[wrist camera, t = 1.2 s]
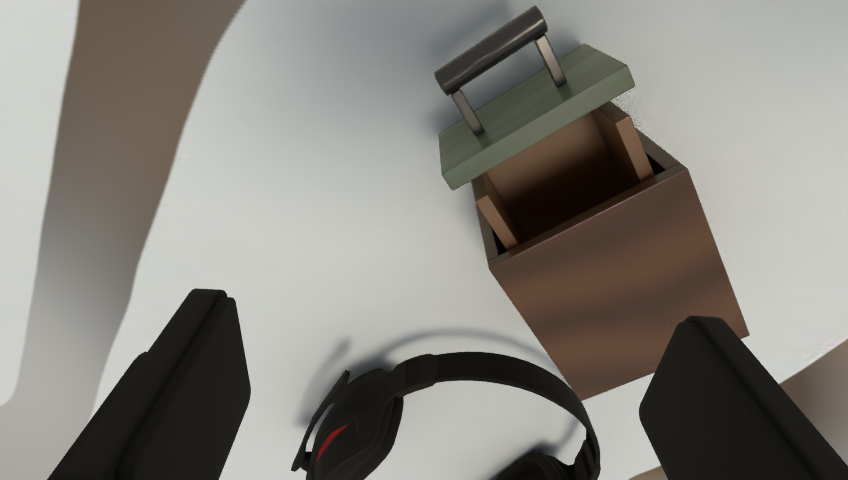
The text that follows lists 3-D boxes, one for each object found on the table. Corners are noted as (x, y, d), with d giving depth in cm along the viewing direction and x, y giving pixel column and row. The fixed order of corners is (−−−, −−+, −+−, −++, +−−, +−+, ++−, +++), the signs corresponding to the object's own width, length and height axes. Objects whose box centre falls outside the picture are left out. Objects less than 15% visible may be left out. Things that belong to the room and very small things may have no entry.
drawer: (402, 79, 29) (396, 108, 23) (555, -25, 26) (593, -21, 20) (522, 265, 36) (541, 323, 30) (653, 200, 33) (701, 251, 27)
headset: (300, 484, 53) (280, 571, 45) (308, 308, 39) (280, 390, 32) (537, 507, 55) (555, 592, 48) (620, 348, 42) (663, 433, 34)
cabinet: (474, 202, 34) (488, 268, 27) (625, 119, 31) (687, 168, 24) (552, 321, 40) (580, 401, 33) (685, 261, 37) (750, 335, 29)
